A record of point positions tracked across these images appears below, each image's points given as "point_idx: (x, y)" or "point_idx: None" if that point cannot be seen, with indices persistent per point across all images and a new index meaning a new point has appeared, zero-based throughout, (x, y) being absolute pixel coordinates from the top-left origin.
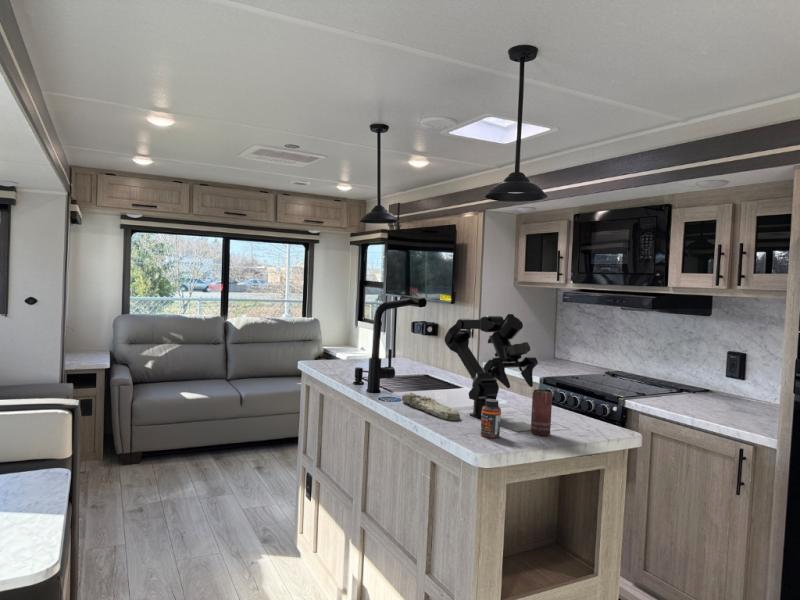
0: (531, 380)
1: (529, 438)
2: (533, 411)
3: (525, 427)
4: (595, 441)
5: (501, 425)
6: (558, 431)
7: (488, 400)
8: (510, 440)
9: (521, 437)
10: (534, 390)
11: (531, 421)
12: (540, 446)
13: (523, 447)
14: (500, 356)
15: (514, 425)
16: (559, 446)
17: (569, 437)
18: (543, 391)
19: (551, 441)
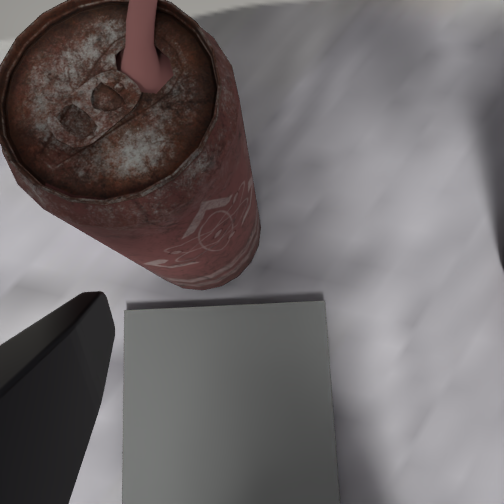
0: (45, 333)
1: (333, 164)
2: (252, 186)
3: (212, 371)
4: (3, 42)
5: (338, 490)
6: (43, 261)
7: None
8: (475, 151)
9: (369, 193)
10: (171, 175)
11: (251, 238)
12: (368, 22)
13: (474, 24)
14: None
15: (256, 442)
16: (264, 4)
17: None
18: (89, 98)
19: (243, 88)
